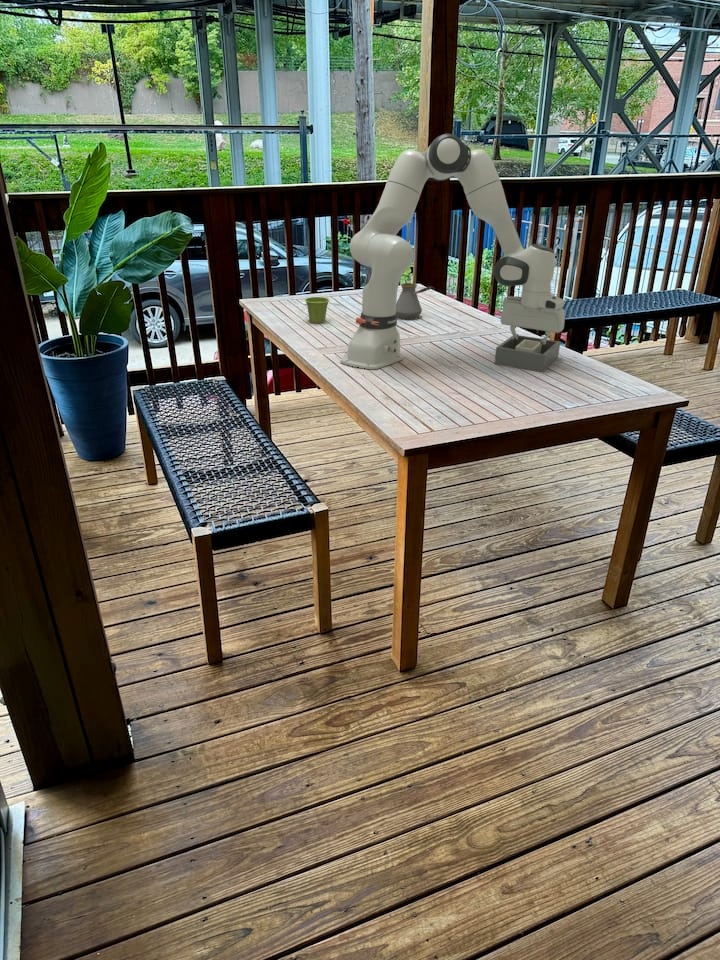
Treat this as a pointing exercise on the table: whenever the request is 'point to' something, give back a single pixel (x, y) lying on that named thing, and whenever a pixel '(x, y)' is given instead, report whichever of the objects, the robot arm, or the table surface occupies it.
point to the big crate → (526, 354)
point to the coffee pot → (409, 301)
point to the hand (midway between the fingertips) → (528, 341)
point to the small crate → (529, 346)
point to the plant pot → (317, 309)
